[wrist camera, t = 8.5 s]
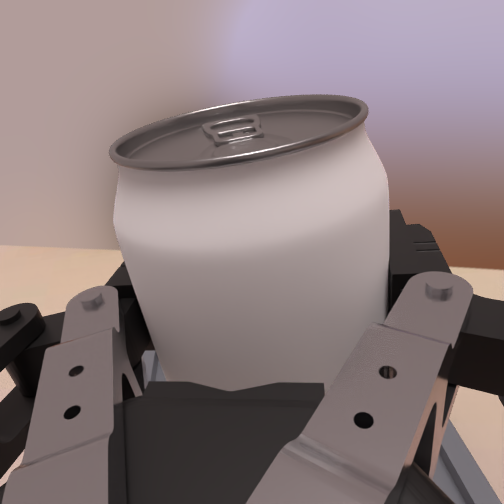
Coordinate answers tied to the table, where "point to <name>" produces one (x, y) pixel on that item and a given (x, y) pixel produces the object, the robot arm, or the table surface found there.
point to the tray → (448, 464)
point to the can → (255, 238)
